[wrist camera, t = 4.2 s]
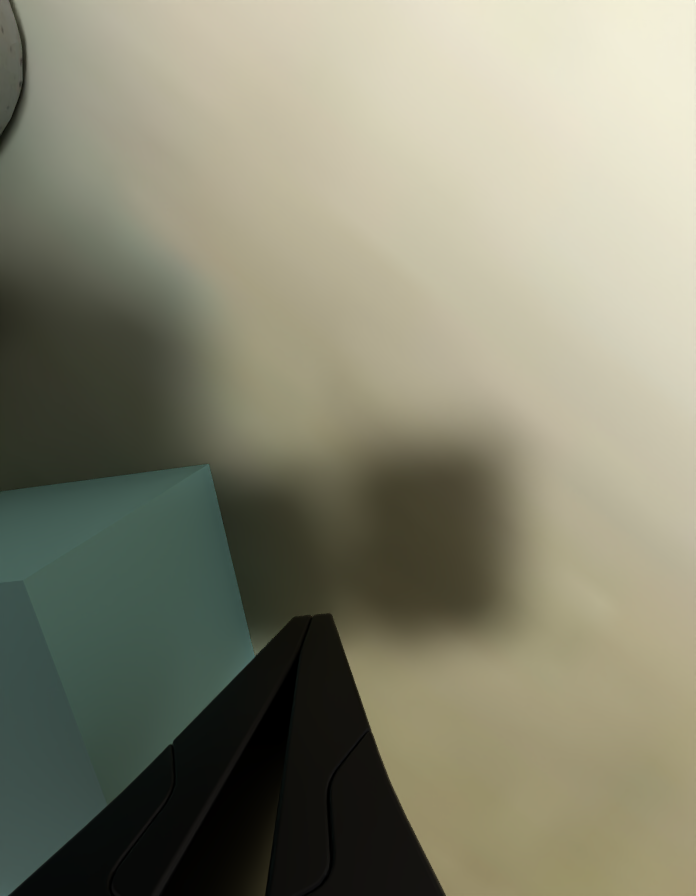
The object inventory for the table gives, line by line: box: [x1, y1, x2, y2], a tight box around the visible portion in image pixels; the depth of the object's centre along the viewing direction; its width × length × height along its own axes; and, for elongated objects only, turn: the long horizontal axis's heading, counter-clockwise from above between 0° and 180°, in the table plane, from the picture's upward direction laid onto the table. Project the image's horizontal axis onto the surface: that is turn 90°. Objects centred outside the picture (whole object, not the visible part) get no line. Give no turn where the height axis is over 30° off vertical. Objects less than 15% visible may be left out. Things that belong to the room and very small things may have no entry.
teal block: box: [0, 464, 255, 896], centre depth 9 cm, size 7×7×6 cm
